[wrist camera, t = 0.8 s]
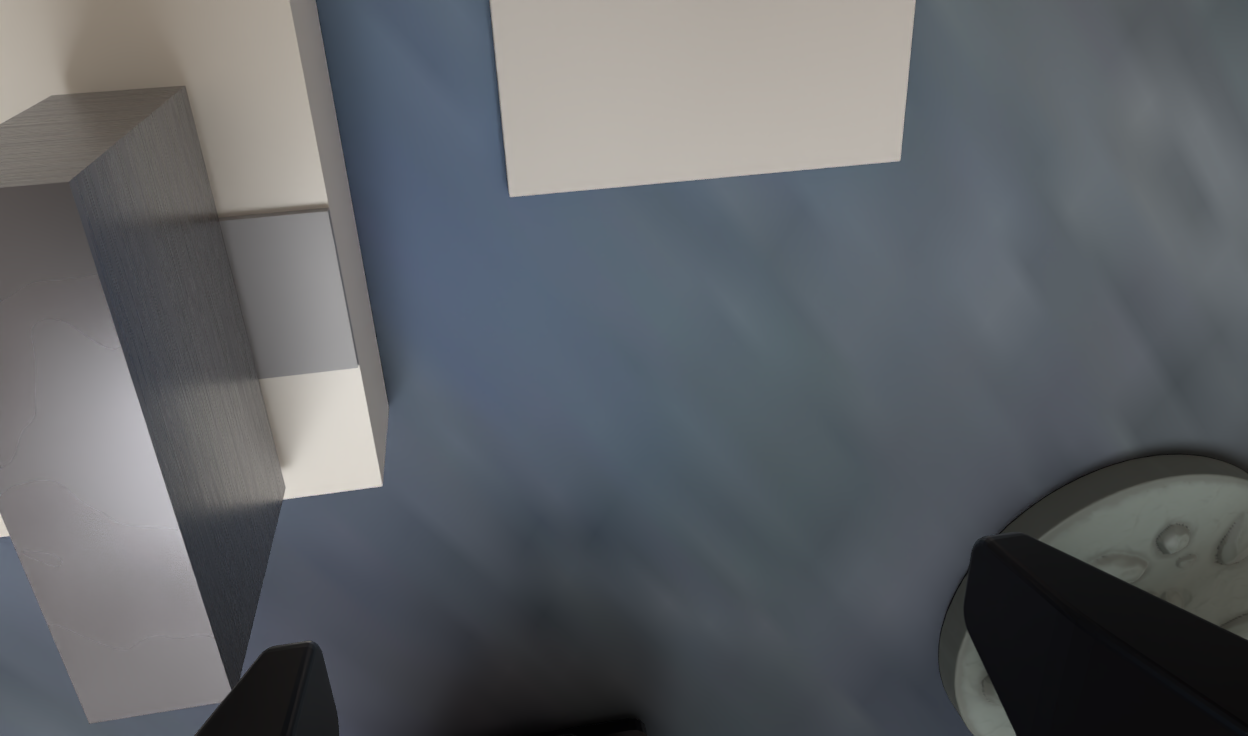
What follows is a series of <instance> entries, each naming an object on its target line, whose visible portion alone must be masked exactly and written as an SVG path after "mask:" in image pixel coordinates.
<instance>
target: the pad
mask: <svg viewBox="0 0 1248 736" xmlns="http://www.w3.org/2000/svg"><path fill="white" fill-rule="evenodd" d="M489 2H490V12H491V22H492V32H493V42H494V52H495V62H496V72H497V82H498V92H499V102H500V112H501V122H502V132H503V142H504V152H505V162H506V172H507V182H508V191H509V195H510V197H517V196H528V195H539V194H550V193H560V192H571V191H582V190H593V189H604V188H614V187H625V186H636V185H647V184H657V183H668V182H679V181H690V180H700V179H711V178H722V177H733V176H744V175H754V174H765V173H776V172H787V171H797V170H808V169H819V168H830V167H840V166H851V165H862V164H873V163H884V162H894V161H900V158H901V147H902V137H903V127H904V116H905V106H906V95H907V85H908V75H909V64H910V54H911V43H912V33H913V22H914V12H915V2H916V0H489Z"/></svg>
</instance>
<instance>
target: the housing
mask: <svg viewBox="0 0 1248 736" xmlns="http://www.w3.org/2000/svg"><path fill="white" fill-rule="evenodd" d="M172 86H186V90H187V94H188V98H189V102H190V106H191V110H192V114H193V119H194V123H195V127H196V131H197V135H198V139H199V143H200V147H201V151H202V155H203V159H204V163H205V167H206V171H207V175H208V179H209V183H210V187H211V191H212V195H213V199H214V203H215V207H216V211H217V215H218V219H219V223H220V227H221V231H222V235H223V239H224V243H225V247H226V251H227V255H228V259H229V263H230V267H231V271H232V275H233V279H234V283H235V287H236V291H237V295H238V299H239V303H240V307H241V311H242V315H243V319H244V323H245V327H246V331H247V335H248V339H249V343H250V347H251V351H252V355H253V359H254V363H255V367H256V371H257V375H258V379H259V383H260V387H261V391H262V395H263V399H264V403H265V407H266V411H267V415H268V419H269V423H270V427H271V431H272V435H273V439H274V443H275V447H276V451H277V455H278V459H279V463H280V467H281V471H282V475H283V479H284V483H285V487H286V488H285V493H284V497H283V499H291V498H298V497H306V496H313V495H321V494H328V493H336V492H343V491H351V490H358V489H366V488H373V487H381V486H383V475H384V463H385V451H386V438H387V426H388V413H389V406H388V400H387V395H386V389H385V383H384V378H383V372H382V367H381V361H380V356H379V350H378V345H377V339H376V333H375V328H374V322H373V317H372V311H371V306H370V300H369V294H368V289H367V283H366V278H365V272H364V267H363V261H362V256H361V250H360V244H359V239H358V233H357V228H356V222H355V217H354V211H353V206H352V200H351V194H350V189H349V183H348V178H347V172H346V167H345V161H344V155H343V150H342V144H341V139H340V133H339V128H338V122H337V117H336V111H335V105H334V100H333V94H332V89H331V83H330V78H329V72H328V67H327V61H326V55H325V50H324V44H323V39H322V33H321V28H320V22H319V16H318V11H317V5H316V0H0V124H1V123H3V122H5V121H7V120H8V119H10V118H12V117H14V116H16V115H17V114H19V113H21V112H23V111H25V110H26V109H28V108H30V107H32V106H33V105H35V104H37V103H39V102H41V101H42V100H44V99H46V98H48V97H50V96H51V95H63V94H76V93H90V92H104V91H117V90H131V89H145V88H159V87H172ZM5 536H10V535H9V533H8V531H7V528H6V526H5V524H4V521H3V519H2V517H1V514H0V537H5Z"/></svg>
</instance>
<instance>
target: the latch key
mask: <svg viewBox="0 0 1248 736" xmlns="http://www.w3.org/2000/svg"><path fill="white" fill-rule="evenodd" d="M285 488H286V487H285V483H284V479H283V475H282V471H281V467H280V463H279V459H278V455H277V451H276V447H275V443H274V439H273V435H272V431H271V427H270V423H269V419H268V415H267V411H266V407H265V403H264V399H263V395H262V391H261V387H260V383H259V379H258V375H257V371H256V367H255V363H254V359H253V355H252V351H251V347H250V343H249V339H248V335H247V331H246V327H245V323H244V319H243V315H242V311H241V307H240V303H239V299H238V295H237V291H236V287H235V283H234V279H233V275H232V271H231V267H230V263H229V259H228V255H227V251H226V247H225V243H224V239H223V235H222V231H221V227H220V223H219V219H218V215H217V211H216V207H215V203H214V199H213V195H212V191H211V187H210V183H209V179H208V175H207V171H206V167H205V163H204V159H203V155H202V151H201V147H200V143H199V139H198V135H197V131H196V127H195V123H194V119H193V114H192V110H191V106H190V102H189V98H188V94H187V90H186V86H172V87H159V88H145V89H131V90H117V91H104V92H90V93H76V94H63V95H51V96H50V97H48V98H46V99H44V100H42V101H41V102H39V103H37V104H35V105H33V106H32V107H30V108H28V109H26V110H25V111H23V112H21V113H19V114H17V115H16V116H14V117H12V118H10V119H8V120H7V121H5V122H3V123H1V124H0V514H1V517H2V519H3V521H4V524H5V526H6V528H7V531H8V533H9V535H10V538H11V540H12V543H13V545H14V547H15V550H16V552H17V554H18V557H19V559H20V561H21V564H22V566H23V568H24V571H25V573H26V575H27V578H28V580H29V582H30V585H31V587H32V590H33V592H34V594H35V597H36V599H37V601H38V604H39V606H40V608H41V611H42V613H43V615H44V618H45V620H46V622H47V625H48V627H49V630H50V632H51V634H52V637H53V639H54V641H55V644H56V646H57V648H58V651H59V653H60V655H61V658H62V660H63V662H64V665H65V667H66V670H67V672H68V674H69V677H70V679H71V681H72V684H73V686H74V688H75V691H76V693H77V695H78V698H79V700H80V702H81V705H82V707H83V709H84V712H85V714H86V717H87V719H88V721H89V724H90V723H96V722H103V721H109V720H115V719H121V718H128V717H134V716H140V715H146V714H152V713H159V712H165V711H171V710H177V709H184V708H190V707H196V706H202V705H208V704H215V703H221V702H222V701H223V700H224V699H225V697H226V696H227V695H228V694H229V692H230V691H231V690H232V689H233V688H234V686H235V685H236V684H237V683H238V681H239V680H240V675H241V671H242V667H243V663H244V659H245V655H246V650H247V646H248V642H249V638H250V634H251V630H252V626H253V621H254V617H255V613H256V609H257V605H258V601H259V596H260V592H261V588H262V584H263V580H264V576H265V572H266V567H267V563H268V559H269V555H270V551H271V547H272V542H273V538H274V534H275V530H276V526H277V522H278V518H279V513H280V509H281V505H282V501H283V497H284V493H285Z"/></svg>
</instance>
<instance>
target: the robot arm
mask: <svg viewBox="0 0 1248 736" xmlns="http://www.w3.org/2000/svg"><path fill="white" fill-rule="evenodd" d="M963 615H964V621H965V625H966V628H967V631H968V633H969V636H970V638H971V640H972V642H973V644H974V646H975V648H976V650H977V653H978V655H979V657H980V659H981V661H982V663H983V665H984V668H985V670H986V672H987V674H988V676H989V678H990V680H991V683H992V685H993V687H994V689H995V691H996V693H997V695H998V697H999V700H1000V702H1001V704H1002V706H1003V708H1004V710H1005V712H1006V715H1007V717H1008V719H1009V721H1010V723H1011V725H1012V727H1013V730H1014V732H1015V734H1016V736H1248V640H1247V639H1245V638H1243V637H1241V636H1239V635H1237V634H1234V633H1232V632H1230V631H1228V630H1226V629H1224V628H1222V627H1220V626H1218V625H1216V624H1214V623H1211V622H1209V621H1207V620H1205V619H1203V618H1201V617H1199V616H1197V615H1195V614H1193V613H1190V612H1188V611H1186V610H1184V609H1182V608H1180V607H1178V606H1176V605H1174V604H1172V603H1170V602H1167V601H1165V600H1163V599H1161V598H1159V597H1157V596H1155V595H1153V594H1151V593H1149V592H1147V591H1144V590H1142V589H1140V588H1138V587H1136V586H1134V585H1132V584H1130V583H1128V582H1126V581H1123V580H1121V579H1119V578H1117V577H1115V576H1113V575H1111V574H1109V573H1107V572H1105V571H1103V570H1100V569H1098V568H1096V567H1094V566H1092V565H1090V564H1088V563H1086V562H1084V561H1082V560H1079V559H1077V558H1075V557H1073V556H1071V555H1069V554H1067V553H1065V552H1063V551H1061V550H1059V549H1056V548H1054V547H1052V546H1050V545H1048V544H1046V543H1044V542H1042V541H1040V540H1038V539H1036V538H1033V537H1031V536H1029V535H1027V534H1024V533H1021V532H1010V533H1004V534H997V535H991V536H985V537H982V538H980V539H978V540H977V541H976V543H975V544H974V546H973V549H972V552H971V558H970V565H969V571H968V577H967V583H966V590H965V596H964V602H963ZM194 736H339V725H338V716H337V710H336V706H335V702H334V698H333V694H332V690H331V686H330V682H329V678H328V674H327V670H326V666H325V662H324V658H323V654H322V651H321V649H320V647H319V646H318V644H317V643H315V642H313V641H304V642H297V643H291V644H284V645H278V646H273V647H270V648H268V649H266V650H265V651H264V652H262V653H261V655H260V656H259V657H258V658H257V659H256V661H255V662H254V663H253V664H252V665H251V667H250V668H249V669H248V670H247V672H246V673H245V674H244V675H243V677H242V678H241V679H240V680H239V681H238V683H237V684H236V685H235V686H234V688H233V689H232V690H231V691H230V692H229V694H228V695H227V696H226V697H225V699H224V700H223V701H222V702H221V704H220V705H219V706H218V707H217V708H216V710H215V711H214V712H213V713H212V715H211V716H210V717H209V718H208V719H207V721H206V722H205V723H204V724H203V726H202V727H201V728H200V729H199V730H198V732H197V733H196V734H195V735H194ZM530 736H647V732H646V728H645V725H644V723H642V722H641V721H640V720H637V719H622V720H617V721H611V722H605V723H599V724H593V725H588V726H582V727H576V728H570V729H565V730H559V731H553V732H547V733H541V734H536V735H530Z"/></svg>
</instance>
